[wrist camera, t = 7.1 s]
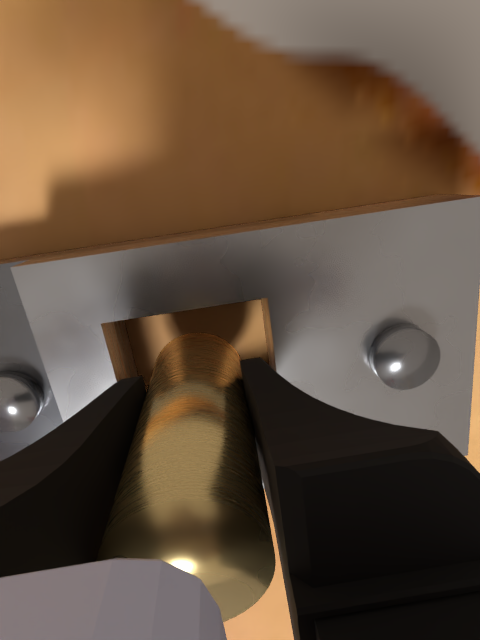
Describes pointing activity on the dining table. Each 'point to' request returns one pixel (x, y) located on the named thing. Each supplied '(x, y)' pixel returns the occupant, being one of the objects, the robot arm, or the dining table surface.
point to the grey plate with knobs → (278, 311)
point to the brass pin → (196, 477)
